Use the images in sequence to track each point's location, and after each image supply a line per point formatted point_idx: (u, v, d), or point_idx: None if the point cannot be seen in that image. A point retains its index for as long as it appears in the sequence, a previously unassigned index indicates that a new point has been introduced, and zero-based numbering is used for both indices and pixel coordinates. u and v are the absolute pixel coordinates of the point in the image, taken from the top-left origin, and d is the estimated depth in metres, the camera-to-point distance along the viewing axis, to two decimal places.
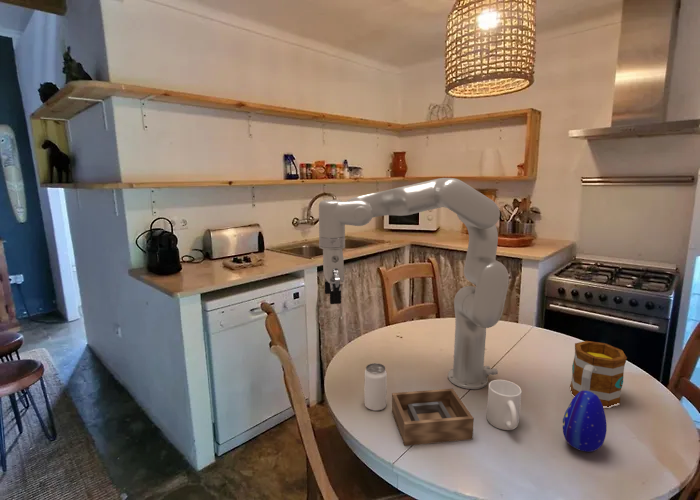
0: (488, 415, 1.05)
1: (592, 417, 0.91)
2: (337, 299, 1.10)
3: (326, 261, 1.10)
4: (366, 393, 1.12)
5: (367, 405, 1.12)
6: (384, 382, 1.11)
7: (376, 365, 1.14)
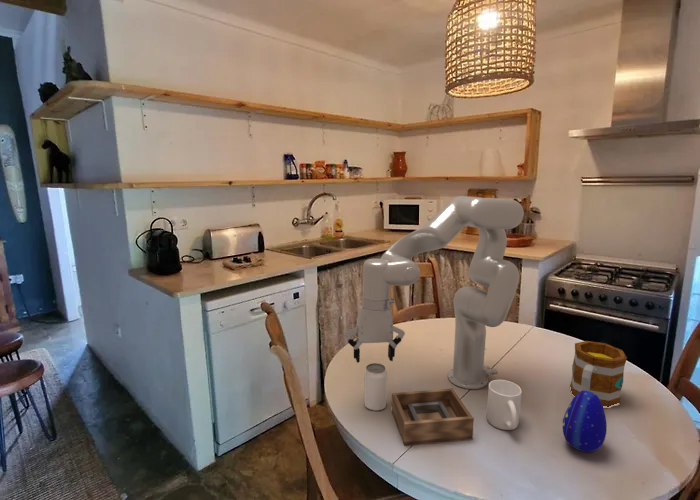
0: (488, 415, 1.05)
1: (592, 417, 0.91)
2: None
3: (388, 321, 1.07)
4: (366, 393, 1.12)
5: (367, 405, 1.12)
6: (384, 382, 1.11)
7: (376, 365, 1.14)
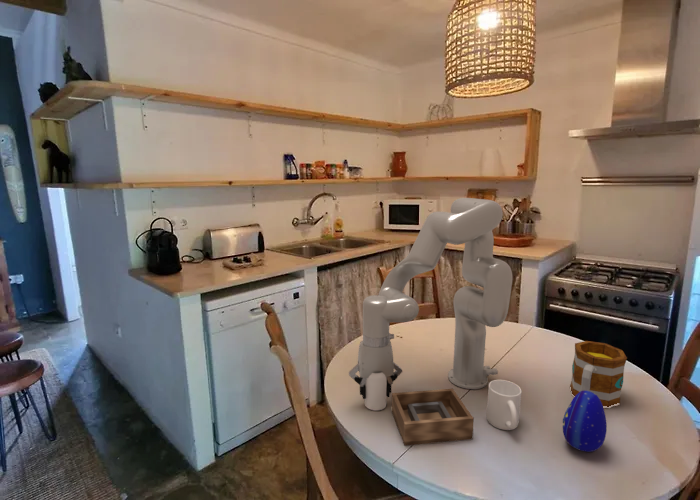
0: (488, 415, 1.05)
1: (592, 417, 0.91)
2: None
3: (388, 357, 1.09)
4: (366, 393, 1.12)
5: (367, 405, 1.12)
6: (384, 382, 1.11)
7: None
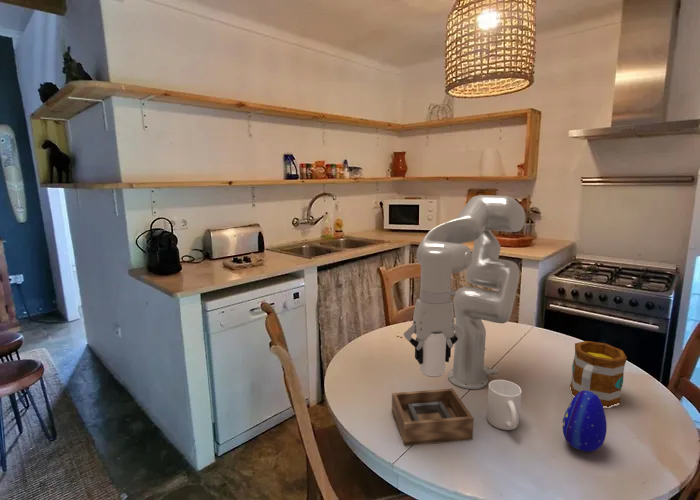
0: (488, 415, 1.05)
1: (592, 417, 0.91)
2: None
3: (449, 316, 0.97)
4: (424, 358, 0.99)
5: (424, 371, 1.00)
6: (444, 344, 0.98)
7: None
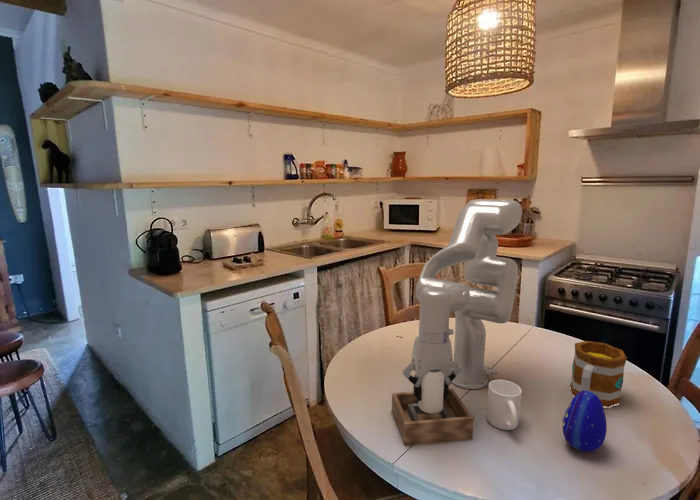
0: (488, 415, 1.05)
1: (592, 417, 0.91)
2: None
3: (447, 355, 0.99)
4: (422, 395, 1.01)
5: (422, 408, 1.02)
6: (442, 382, 1.00)
7: None
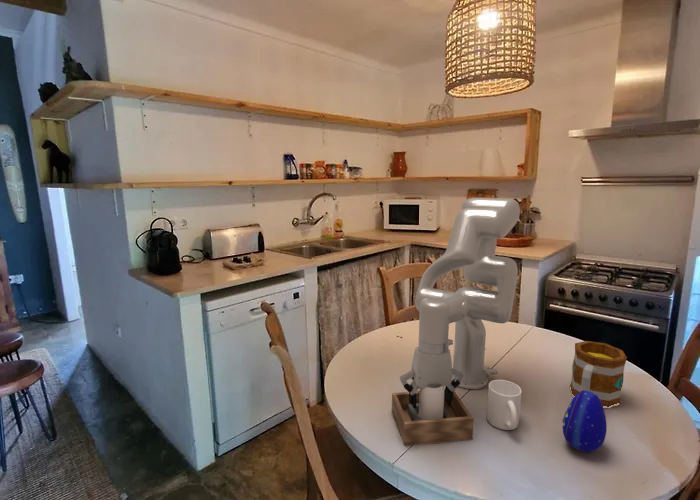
0: (488, 415, 1.05)
1: (592, 417, 0.91)
2: None
3: (447, 365, 1.00)
4: (422, 409, 1.02)
5: None
6: (442, 397, 1.01)
7: None
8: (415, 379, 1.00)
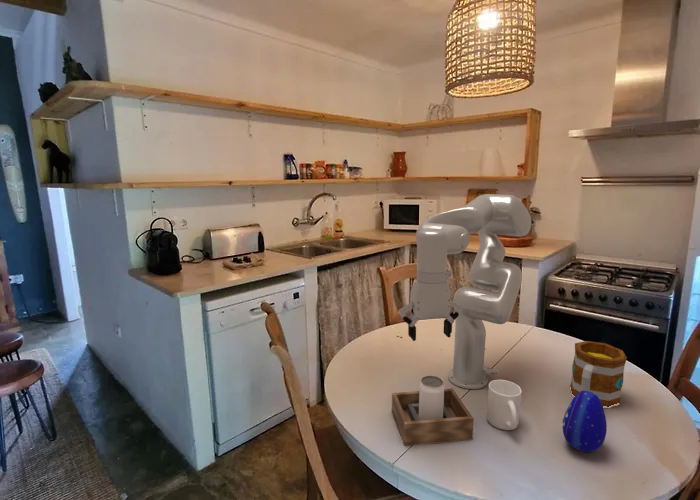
0: (488, 415, 1.05)
1: (592, 417, 0.91)
2: None
3: (446, 295, 1.00)
4: (422, 409, 1.02)
5: None
6: (442, 397, 1.01)
7: (431, 378, 1.05)
8: (414, 310, 1.00)
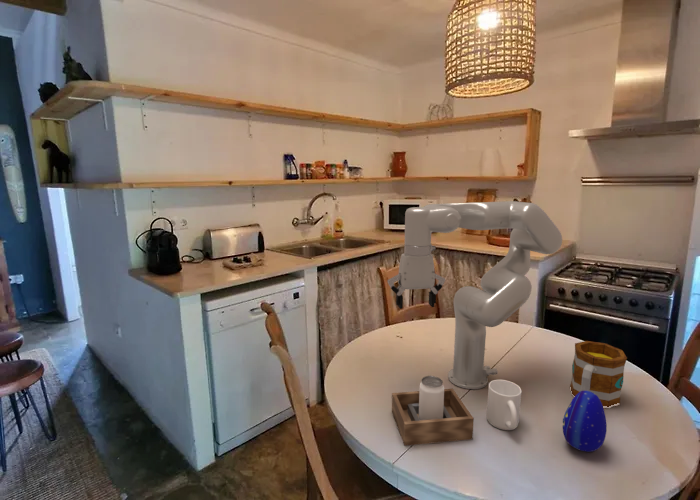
0: (488, 415, 1.05)
1: (592, 417, 0.91)
2: None
3: (430, 268, 1.11)
4: (422, 409, 1.02)
5: None
6: (442, 397, 1.01)
7: (431, 378, 1.05)
8: (401, 281, 1.11)
